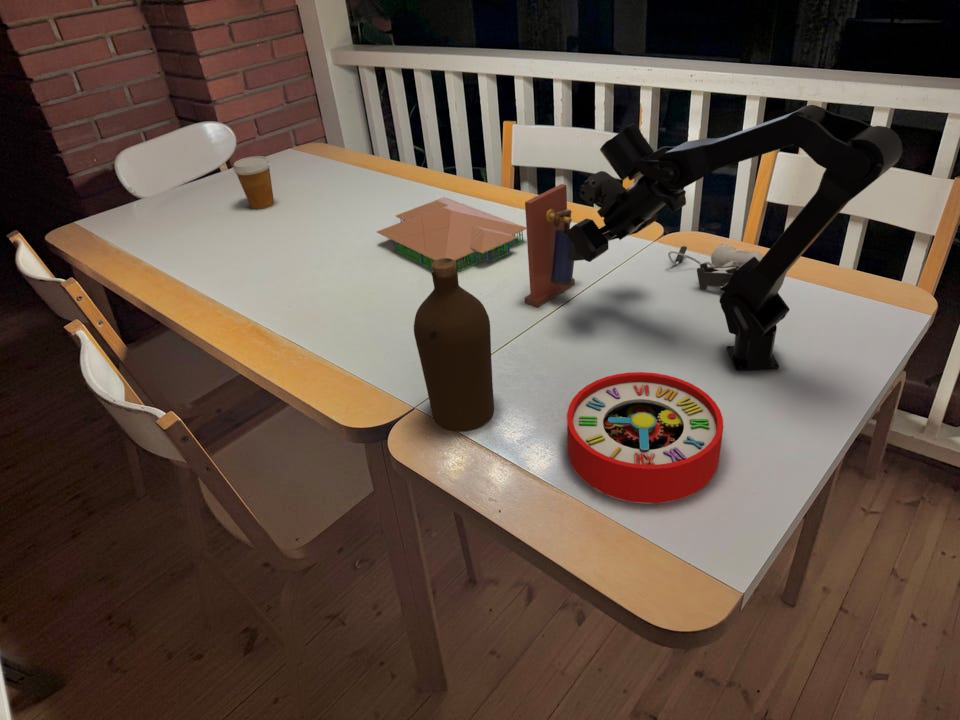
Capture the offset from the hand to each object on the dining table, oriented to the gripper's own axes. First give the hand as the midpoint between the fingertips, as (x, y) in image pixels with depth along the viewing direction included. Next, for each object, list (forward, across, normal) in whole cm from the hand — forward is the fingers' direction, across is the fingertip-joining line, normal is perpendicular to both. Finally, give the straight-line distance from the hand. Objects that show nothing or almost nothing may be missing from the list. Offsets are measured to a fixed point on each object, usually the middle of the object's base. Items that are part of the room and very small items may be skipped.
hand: (586, 248), depth 123 cm
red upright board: (+12, +1, +3) cm, 12 cm away
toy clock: (-14, +28, +30) cm, 43 cm away
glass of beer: (+80, +8, -66) cm, 104 cm away
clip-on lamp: (-1, -22, +17) cm, 27 cm away
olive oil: (+4, +38, +12) cm, 39 cm away
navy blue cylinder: (+7, +2, +2) cm, 8 cm away
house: (+37, -4, -22) cm, 43 cm away
